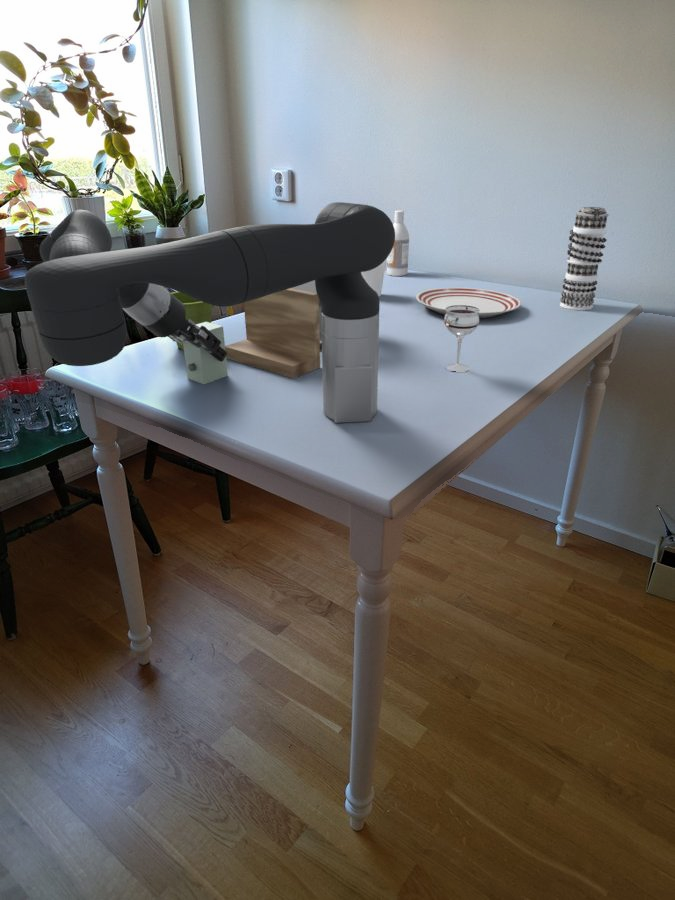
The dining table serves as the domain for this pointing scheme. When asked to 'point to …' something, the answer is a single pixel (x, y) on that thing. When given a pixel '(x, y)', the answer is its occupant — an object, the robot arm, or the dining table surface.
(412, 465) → the dining table surface
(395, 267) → the bath foam
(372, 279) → the cup
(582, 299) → the grey white tall cylinder
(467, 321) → the wineglass
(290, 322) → the wooden stand
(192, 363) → the cabinet
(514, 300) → the dinner plate
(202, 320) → the plant pot
